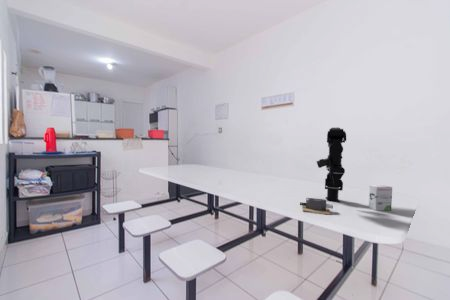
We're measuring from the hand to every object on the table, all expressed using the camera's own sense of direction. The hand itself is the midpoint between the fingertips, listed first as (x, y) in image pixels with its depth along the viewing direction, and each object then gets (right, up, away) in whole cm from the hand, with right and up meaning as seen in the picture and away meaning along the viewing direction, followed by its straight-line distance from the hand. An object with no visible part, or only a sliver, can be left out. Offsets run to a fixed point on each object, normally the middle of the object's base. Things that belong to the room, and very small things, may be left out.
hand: (333, 184), depth 108 cm
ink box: (+22, -12, -1) cm, 26 cm away
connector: (-11, -11, -5) cm, 16 cm away
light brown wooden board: (-11, -12, -5) cm, 17 cm away
